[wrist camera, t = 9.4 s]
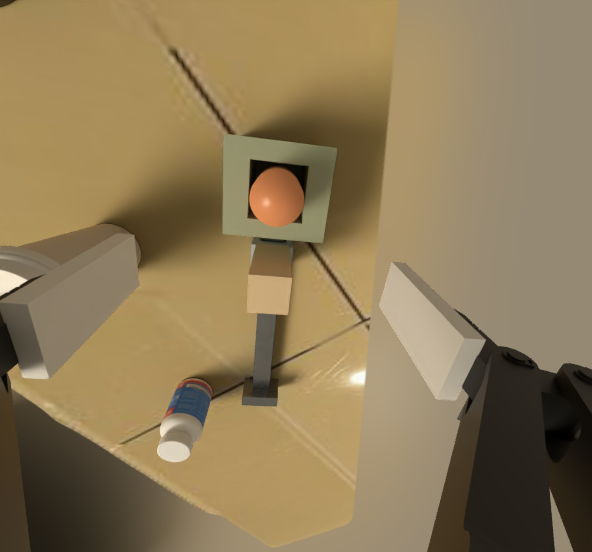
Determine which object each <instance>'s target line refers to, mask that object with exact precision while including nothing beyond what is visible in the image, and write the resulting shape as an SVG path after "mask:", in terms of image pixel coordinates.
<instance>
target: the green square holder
mask: <svg viewBox="0 0 592 552" xmlns="http://www.w3.org/2000/svg"><path fill="white" fill-rule="evenodd" d="M337 149H338V148H335V147H327V146H319V145H311V144H302V143H294V142H286V141H278V140H270V139H262V138H254V137H246V136H238V135H230V134H223V234H228V235H239V236H250V237H261V238H271V239H282V240H293V241H304V242H314V243H323V239H324V232H325V226H326V220H327V213H328V207H329V200H330V194H331V188H332V181H333V175H334V168H335V162H336V155H337ZM273 165H280V166H284V167H286V168H288V169H290V170H291V171H292V172H293V173H294V175H295V176H296V178H297V180H298V182H299V184H300V185H301V187H302V190H303V193H304V206H303V209H302V211H301V213H300V215H299V216H298V218H297V219H296V220H295V221H293V222H292V223H290V224H288V225H286V226H282V227H273V226H269V225H266V224H264V223H262V222H261V221H260V220H259V219H258V218H257V217H256V216H255V215H254V213H253V211H252V209H251V206H250V201H249V196H250V191H251V188H252V186H253V184H254V182H255V181H256V179H257V178H258V177H259V175H260V174H261V172H262V171H263V170H265V169H266V168H268V167H270V166H273Z"/></svg>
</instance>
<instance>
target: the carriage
mask: <svg viewBox="0 0 592 552" xmlns="http://www.w3.org/2000/svg"><path fill="white" fill-rule="evenodd" d="M292 257H293V244H292V240H286V243H278V242H267V241H260V237H254V239H253V241H252V244H251V263H250V270H249V275H248V294H247V312H249V313H264V314H278V315H288V310H289V301H290V293H291V284H292V270H291V265H292Z"/></svg>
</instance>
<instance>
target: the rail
mask: <svg viewBox="0 0 592 552" xmlns="http://www.w3.org/2000/svg"><path fill="white" fill-rule="evenodd" d="M262 241H267V242H278V243H283V241H284V240H282V239H271V238H263V240H262ZM275 322H276V314H264V313H258V314H257V329H256V343H255V358H254V373H253V378H245V381H244V388H243V395H242V405H252V406H277V400H278V380H274V379H270V373H271V363H272V353H273V342H274V332H275Z"/></svg>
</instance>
